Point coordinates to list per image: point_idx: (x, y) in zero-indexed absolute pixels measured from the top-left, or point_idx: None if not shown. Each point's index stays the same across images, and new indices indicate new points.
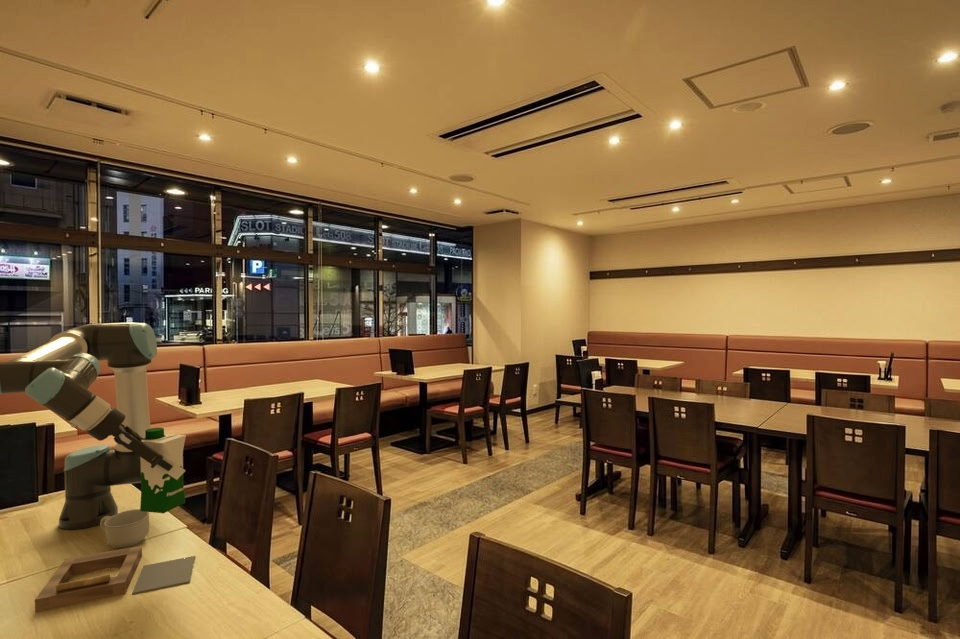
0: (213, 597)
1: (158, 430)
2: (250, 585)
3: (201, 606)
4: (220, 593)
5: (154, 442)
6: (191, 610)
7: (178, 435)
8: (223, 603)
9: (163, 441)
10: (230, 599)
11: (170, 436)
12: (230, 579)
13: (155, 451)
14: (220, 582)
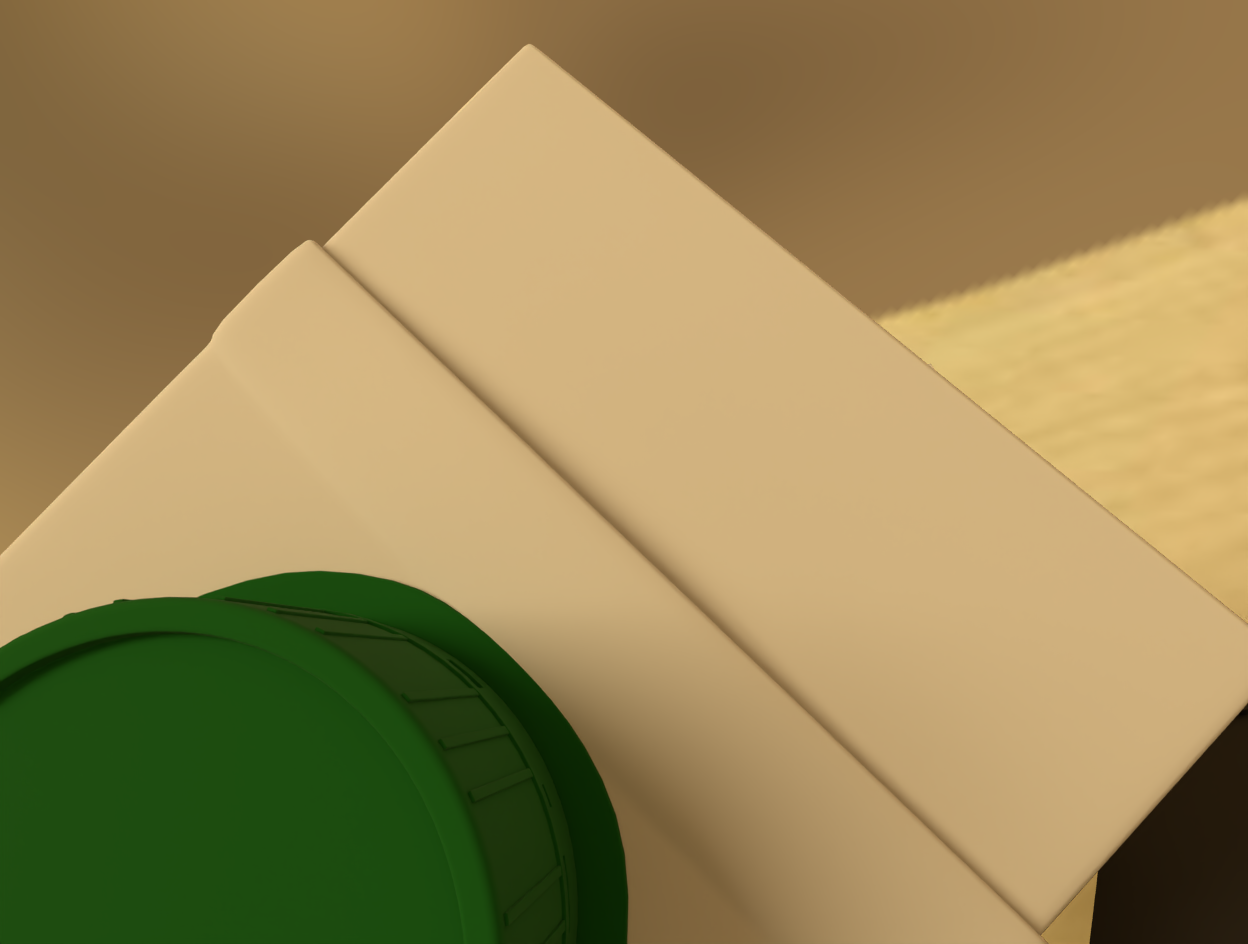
0: (1139, 446)
1: (462, 820)
2: (1102, 268)
3: (1209, 506)
4: (1112, 412)
5: (1043, 920)
6: (1228, 554)
7: (433, 228)
8: (1234, 403)
9: (1077, 630)
10: (1208, 369)
11: (443, 435)
12: (974, 357)
13: (1129, 845)
14: (981, 406)
